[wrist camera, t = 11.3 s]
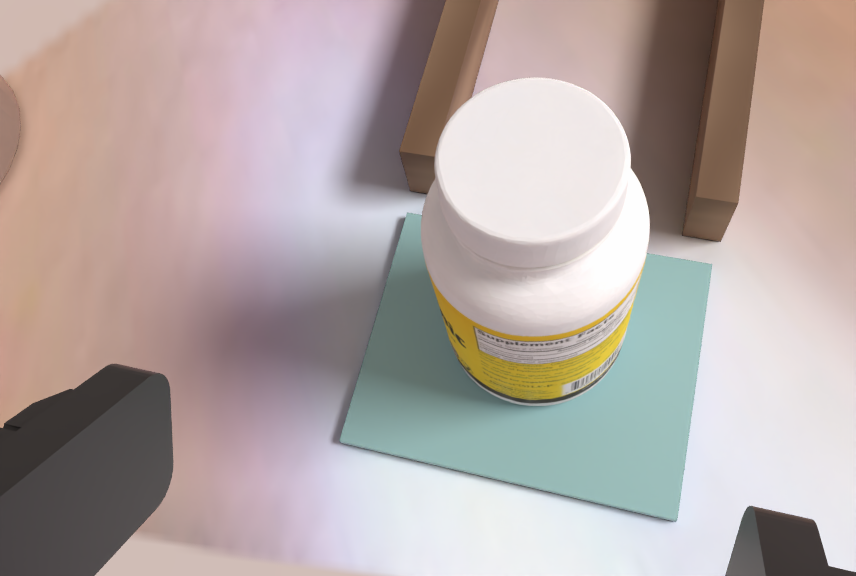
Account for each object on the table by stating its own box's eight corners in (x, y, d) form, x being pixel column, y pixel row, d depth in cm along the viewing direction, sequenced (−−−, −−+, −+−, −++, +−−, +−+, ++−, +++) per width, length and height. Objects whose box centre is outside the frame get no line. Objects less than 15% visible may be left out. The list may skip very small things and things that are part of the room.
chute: (410, 190, 28) (399, 151, 26) (508, -137, 34) (506, -193, 32) (720, 241, 26) (738, 203, 24) (768, -118, 32) (786, -177, 29)
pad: (341, 443, 25) (339, 440, 25) (408, 216, 28) (407, 212, 27) (675, 521, 23) (677, 520, 23) (710, 268, 26) (712, 264, 25)
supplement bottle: (457, 244, 27) (418, 44, 18) (625, 253, 26) (673, 48, 17) (438, 403, 25) (383, 266, 16) (620, 419, 24) (672, 284, 15)
